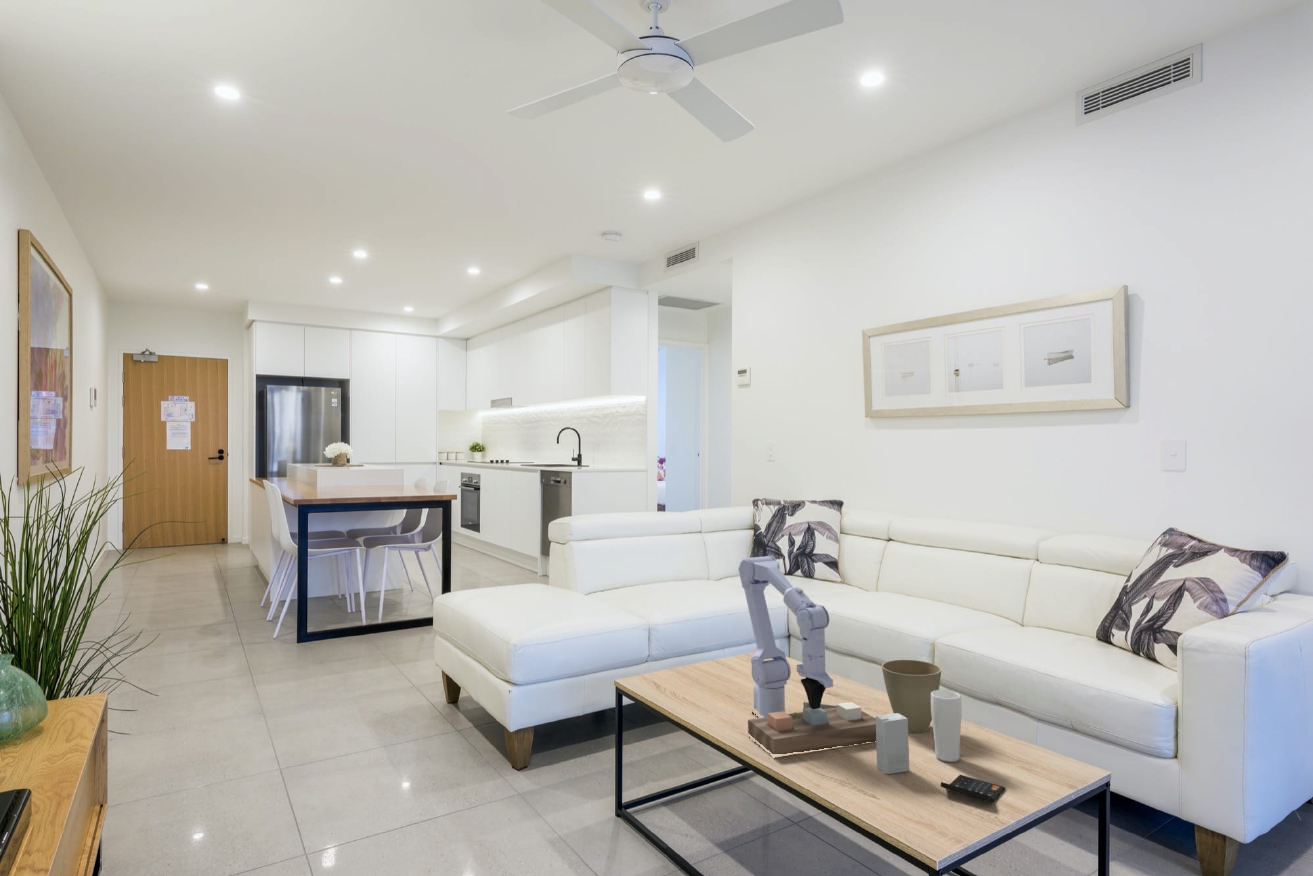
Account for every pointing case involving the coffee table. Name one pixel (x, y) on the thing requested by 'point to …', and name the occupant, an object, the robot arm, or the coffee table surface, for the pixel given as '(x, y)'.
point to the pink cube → (779, 721)
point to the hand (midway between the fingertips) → (814, 708)
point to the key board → (813, 733)
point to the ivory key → (848, 711)
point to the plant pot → (912, 690)
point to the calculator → (975, 788)
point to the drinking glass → (946, 724)
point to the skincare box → (892, 743)
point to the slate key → (814, 716)
